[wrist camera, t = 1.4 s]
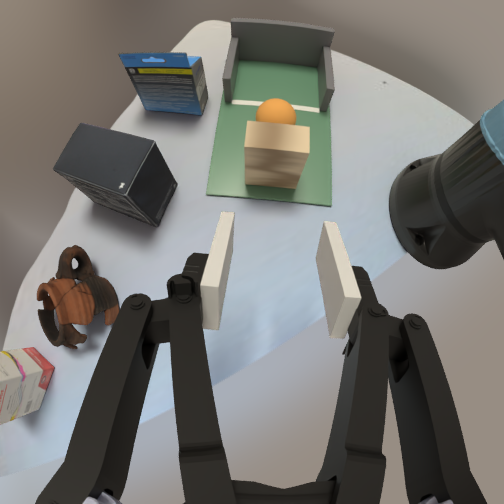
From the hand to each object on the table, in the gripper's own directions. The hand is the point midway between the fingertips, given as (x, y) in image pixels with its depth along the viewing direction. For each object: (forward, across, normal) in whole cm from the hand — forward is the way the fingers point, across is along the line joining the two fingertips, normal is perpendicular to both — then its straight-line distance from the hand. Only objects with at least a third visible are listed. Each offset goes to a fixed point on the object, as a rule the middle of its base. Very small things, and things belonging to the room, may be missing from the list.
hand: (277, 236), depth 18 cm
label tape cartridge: (+27, -14, +4) cm, 31 cm away
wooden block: (+19, 0, -3) cm, 19 cm away
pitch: (+26, 0, +3) cm, 26 cm away
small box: (+18, -17, -6) cm, 25 cm away
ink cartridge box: (-2, -30, -25) cm, 39 cm away
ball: (+24, 0, +2) cm, 24 cm away
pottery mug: (+8, -21, -16) cm, 28 cm away
